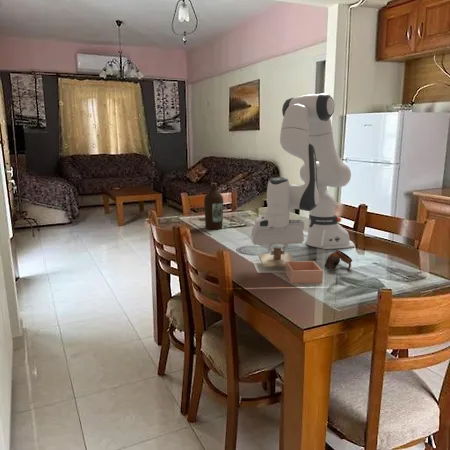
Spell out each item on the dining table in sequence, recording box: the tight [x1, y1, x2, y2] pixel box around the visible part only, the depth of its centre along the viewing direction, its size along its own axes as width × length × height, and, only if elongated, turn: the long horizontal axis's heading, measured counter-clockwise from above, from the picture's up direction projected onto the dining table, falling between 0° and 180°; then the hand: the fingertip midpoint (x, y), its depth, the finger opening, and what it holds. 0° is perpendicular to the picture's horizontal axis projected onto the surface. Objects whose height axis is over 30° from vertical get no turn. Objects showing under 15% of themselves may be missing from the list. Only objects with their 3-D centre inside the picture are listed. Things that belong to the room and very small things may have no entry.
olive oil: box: [203, 182, 224, 231], centre depth 228 cm, size 11×11×25 cm
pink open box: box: [284, 260, 324, 284], centre depth 151 cm, size 11×11×5 cm
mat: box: [252, 260, 285, 274], centre depth 164 cm, size 16×14×1 cm
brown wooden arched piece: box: [324, 249, 353, 271], centre depth 162 cm, size 12×10×8 cm
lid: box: [258, 246, 296, 267], centre depth 163 cm, size 13×13×5 cm
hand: (277, 254), depth 163 cm, fingers closed on lid, 3 cm apart
